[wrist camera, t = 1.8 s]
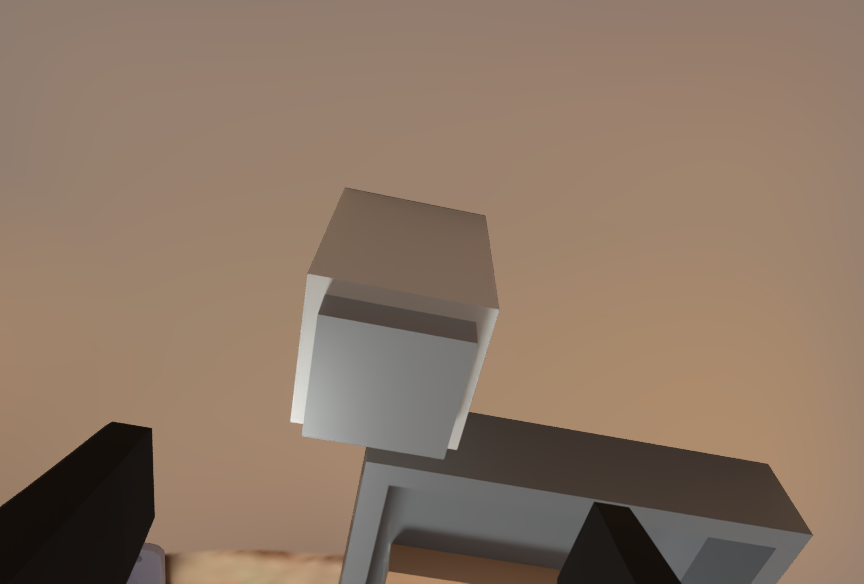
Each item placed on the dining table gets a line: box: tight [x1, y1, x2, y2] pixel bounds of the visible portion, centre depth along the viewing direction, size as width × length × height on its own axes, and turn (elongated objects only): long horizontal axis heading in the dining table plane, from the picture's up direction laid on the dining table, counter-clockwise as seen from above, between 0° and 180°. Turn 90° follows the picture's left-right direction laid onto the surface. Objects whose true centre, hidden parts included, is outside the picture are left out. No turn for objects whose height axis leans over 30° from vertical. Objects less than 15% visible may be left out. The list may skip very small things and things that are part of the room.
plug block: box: [290, 188, 499, 460], centre depth 15 cm, size 4×4×6 cm
